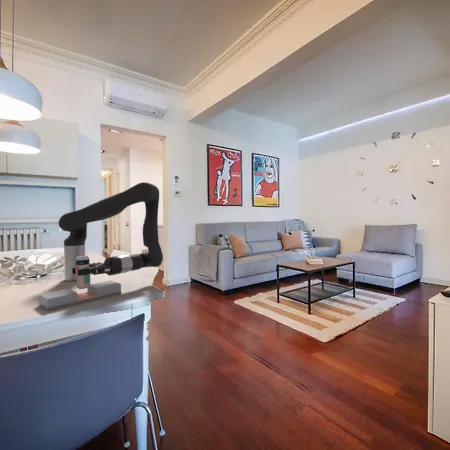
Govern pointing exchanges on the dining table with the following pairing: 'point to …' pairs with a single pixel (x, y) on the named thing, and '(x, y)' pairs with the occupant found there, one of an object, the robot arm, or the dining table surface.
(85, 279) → the beer can
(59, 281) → the dining table surface
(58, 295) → the grey peach bar
